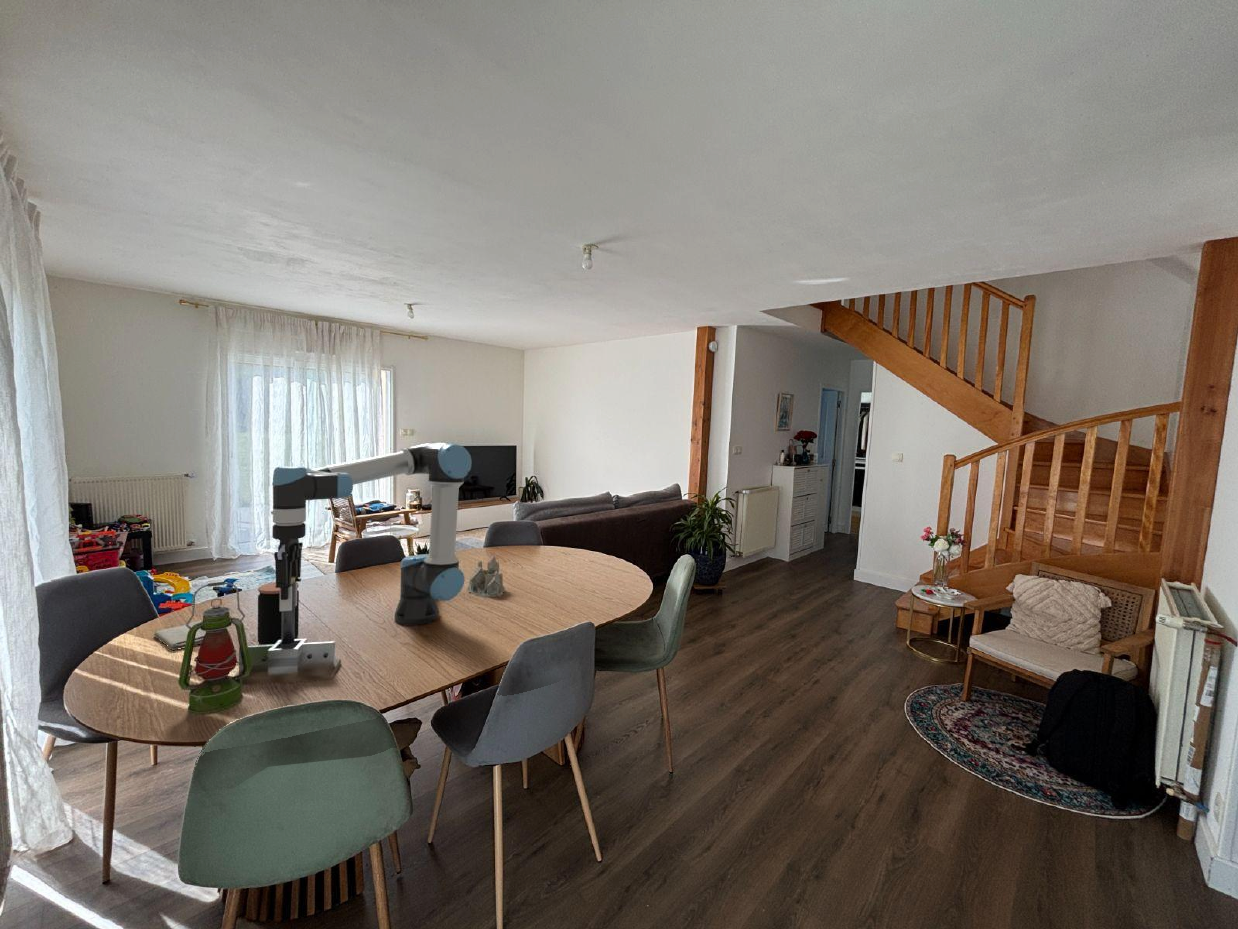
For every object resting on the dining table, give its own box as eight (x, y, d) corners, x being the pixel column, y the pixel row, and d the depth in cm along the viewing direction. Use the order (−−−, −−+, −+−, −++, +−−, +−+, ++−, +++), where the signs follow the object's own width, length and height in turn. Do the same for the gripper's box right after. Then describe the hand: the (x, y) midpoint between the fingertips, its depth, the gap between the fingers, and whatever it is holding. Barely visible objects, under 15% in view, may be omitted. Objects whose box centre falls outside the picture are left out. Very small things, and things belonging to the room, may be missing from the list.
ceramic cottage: (468, 586, 224) (470, 553, 222) (506, 587, 226) (508, 555, 225) (462, 599, 209) (465, 564, 207) (503, 601, 211) (505, 566, 209)
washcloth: (172, 653, 148) (172, 643, 148) (152, 638, 158) (152, 628, 158) (221, 641, 158) (221, 631, 158) (199, 627, 168) (199, 618, 168)
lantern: (177, 723, 114) (176, 593, 112) (179, 702, 122) (179, 581, 120) (252, 704, 123) (253, 584, 121) (250, 686, 131) (250, 573, 129)
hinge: (337, 660, 144) (338, 637, 144) (330, 672, 137) (330, 647, 137) (245, 666, 138) (245, 641, 138) (233, 678, 132) (233, 652, 131)
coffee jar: (306, 638, 162) (306, 583, 161) (274, 651, 152) (274, 593, 151) (282, 633, 165) (282, 579, 164) (249, 645, 155) (249, 588, 154)
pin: (296, 639, 139) (296, 576, 138) (292, 644, 136) (292, 579, 136) (283, 640, 139) (284, 576, 138) (279, 644, 136) (280, 579, 135)
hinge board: (340, 664, 145) (340, 659, 145) (331, 679, 137) (331, 673, 137) (245, 670, 139) (245, 665, 139) (229, 686, 131) (229, 680, 131)
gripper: (285, 518, 143) (284, 599, 144) (260, 528, 127) (259, 619, 128) (314, 518, 144) (313, 598, 146) (293, 528, 129) (292, 618, 130)
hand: (288, 608), depth 137 cm, fingers closed on pin, 3 cm apart
